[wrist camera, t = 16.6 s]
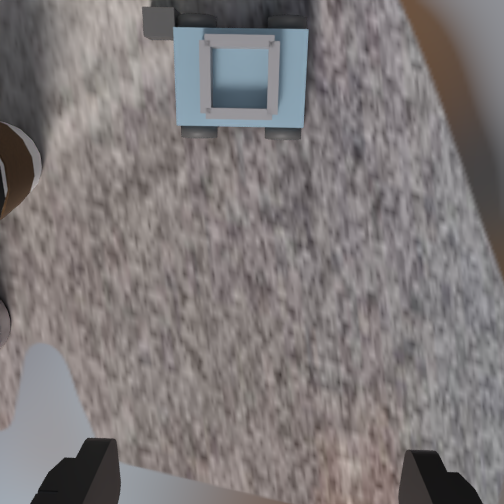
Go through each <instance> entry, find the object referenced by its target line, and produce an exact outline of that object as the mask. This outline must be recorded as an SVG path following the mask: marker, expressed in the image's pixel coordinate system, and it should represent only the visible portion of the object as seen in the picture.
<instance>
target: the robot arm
mask: <svg viewBox="0 0 504 504" xmlns="http://www.w3.org/2000/svg"><path fill="white" fill-rule="evenodd" d="M10 328H11V327H10V318H9V314H8V311H7V309H6V307H5V305H4V303H3V302H2V301H1V299H0V349H1V347H2V346H3V345H4V344H5V343H6V341H7V339H8V337H9V333H10ZM120 487H121V479H120V470H119V460H118V450H117V442H116V440H115V439H108V438H87V439H86V440H85V441H84V443H83V445H82V447H81V449H80V451H79V453H78V455H77V457H76V458H64V459H63V460H61V461H60V462H59V463H58V464H57V465H56V466H55V467H54V468H53V469H52V470H51V471H49V472H48V474H47V476H46V477H45V479H44V481H43V483H42V484H41V486H40V488H39V490H38V493H37V494H36V495H35V497H34V498H33V500H32V502H31V503H30V504H118V500H119V495H120ZM399 504H483V503H482V501H481V499H480V497H479V496H478V494H477V492H476V490H475V489H474V488H473V487H472V486H471V485H470V484H469V483H468V482H467V481H466V480H465V479H464V478H463V477H462V476H461V475H460V474H459V473H458V472H447V470H446V468H445V466H444V464H443V462H442V460H441V458H440V456H439V454H438V453H437V452H436V451H429V450H407V451H406V453H405V457H404V463H403V469H402V475H401V481H400V487H399Z"/></svg>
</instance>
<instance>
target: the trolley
mask: <svg viewBox="0 0 504 504" xmlns="http://www.w3.org/2000/svg"><path fill="white" fill-rule="evenodd" d="M177 21H178V27H173V37H174V64H175V90H176V117H177V125H181V137H185V138H216V137H217V126H233V127H265V138H266V139H273V140H299V139H301V128H303V124H304V106H305V87H306V68H307V49H308V31H309V29H306V28H307V18H306V17H304V16H298V15H275V16H270V17H268V29H262V28H216V17H215V16H212V15H207V14H180V15H178V16H177Z"/></svg>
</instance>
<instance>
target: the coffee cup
mask: <svg viewBox="0 0 504 504" xmlns="http://www.w3.org/2000/svg"><path fill="white" fill-rule="evenodd" d="M41 172H42V164H41V156H40V153H39V151H38V149H37V147H36V145H35V143H34V142H33V140H32V139H30V138H29V137H28V136H27V135H26V134H25V133H24V132H23V131H22V130H21V129H19V128H17V127H15V126H13V125H10V124H8V123H6V122H1V121H0V220H1V219H2V218H4V217H5V216H6V215H7V214H8V213H10V212H11V211H12V210H13V209H14V208H16V207H17V206H18V205H19V204H20V203H21V202H22V201H23V200H24V199H25V197H26V196H27V195H28V194H29V193H30V192H31V191H32V190H33V189H34V187H35V186H36V185H37V184H38V182H39V178H40V175H41Z"/></svg>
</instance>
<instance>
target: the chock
mask: <svg viewBox="0 0 504 504" xmlns="http://www.w3.org/2000/svg"><path fill="white" fill-rule="evenodd" d="M142 13H143V31H144V36H145V37H147V38H149V39H151V40H174V37H173V27H178V21H177V16H178V15H180V13H179V12H178V11H177V10H176V9H175V8H174V7H142Z"/></svg>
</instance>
